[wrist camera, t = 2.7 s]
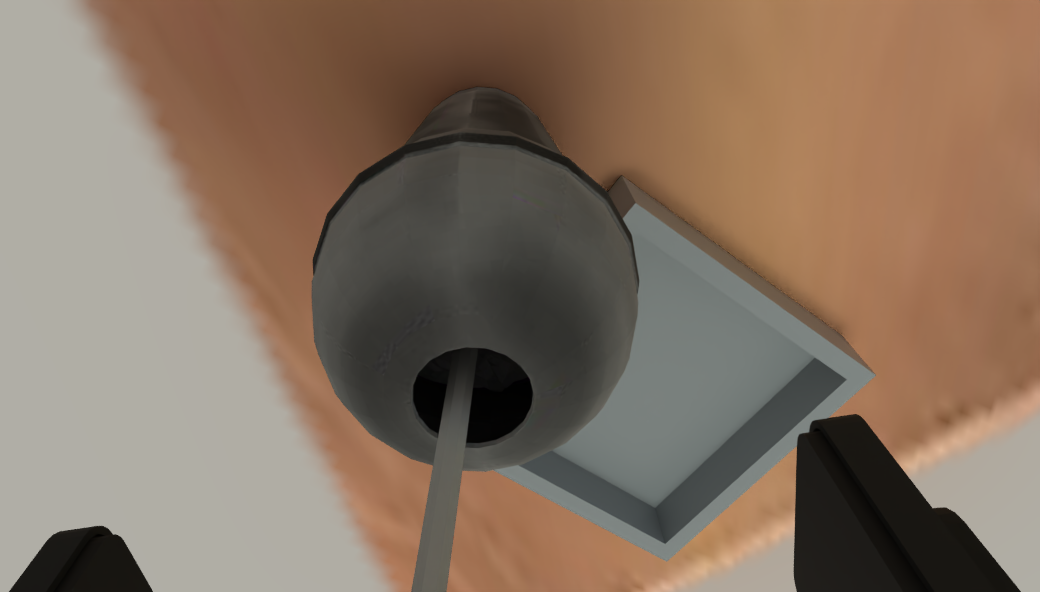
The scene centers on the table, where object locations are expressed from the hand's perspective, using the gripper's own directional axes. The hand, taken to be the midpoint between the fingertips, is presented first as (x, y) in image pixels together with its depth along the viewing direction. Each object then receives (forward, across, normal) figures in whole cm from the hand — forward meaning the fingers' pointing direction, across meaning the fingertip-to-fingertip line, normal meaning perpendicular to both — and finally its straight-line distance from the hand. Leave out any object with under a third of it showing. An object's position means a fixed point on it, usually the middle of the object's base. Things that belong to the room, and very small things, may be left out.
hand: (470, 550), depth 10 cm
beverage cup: (+19, 0, -1) cm, 19 cm away
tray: (+18, -5, +10) cm, 22 cm away
